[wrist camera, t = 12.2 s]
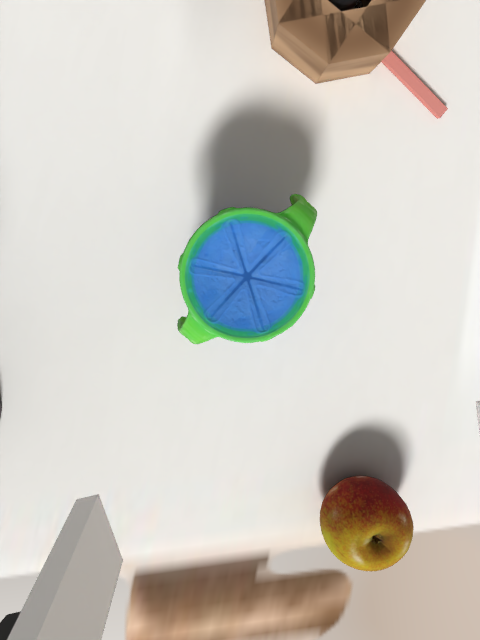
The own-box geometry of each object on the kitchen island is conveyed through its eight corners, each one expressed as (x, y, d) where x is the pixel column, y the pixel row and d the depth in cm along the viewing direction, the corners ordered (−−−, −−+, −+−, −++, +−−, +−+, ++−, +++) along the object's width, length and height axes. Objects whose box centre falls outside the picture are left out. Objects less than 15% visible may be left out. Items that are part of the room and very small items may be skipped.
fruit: (400, 464, 48) (433, 511, 40) (390, 532, 50) (421, 589, 42) (316, 463, 48) (334, 510, 40) (310, 532, 50) (326, 589, 42)
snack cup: (219, 351, 44) (217, 389, 34) (148, 276, 42) (125, 293, 32) (335, 252, 42) (369, 262, 32) (268, 168, 40) (282, 151, 30)
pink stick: (344, 24, 38) (346, 22, 37) (352, 15, 38) (354, 12, 37) (437, 118, 40) (440, 117, 39) (445, 109, 40) (447, 108, 39)
